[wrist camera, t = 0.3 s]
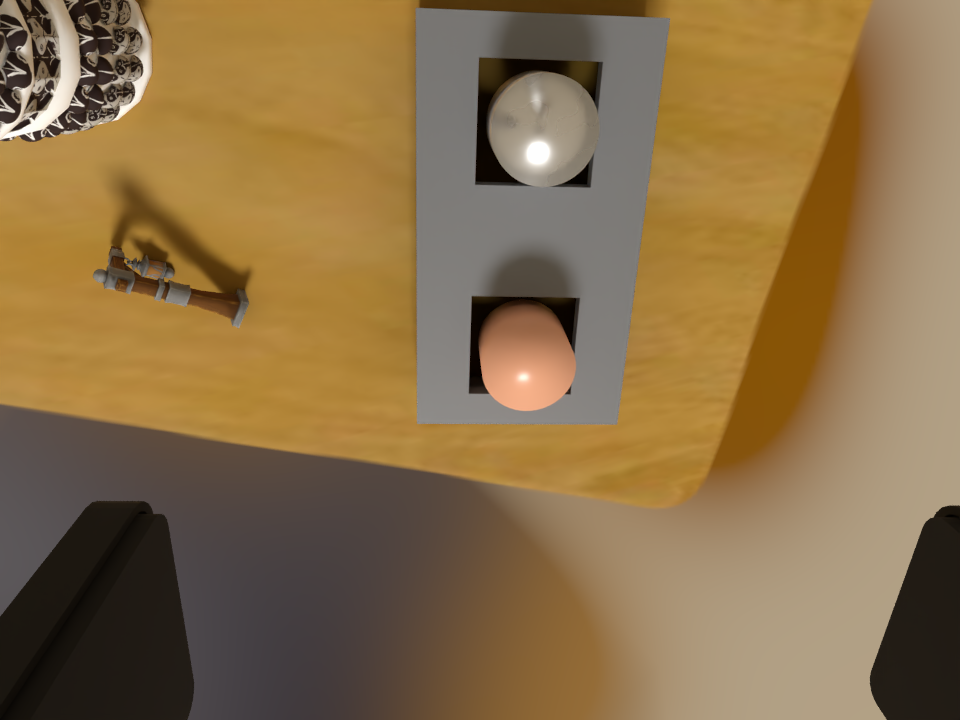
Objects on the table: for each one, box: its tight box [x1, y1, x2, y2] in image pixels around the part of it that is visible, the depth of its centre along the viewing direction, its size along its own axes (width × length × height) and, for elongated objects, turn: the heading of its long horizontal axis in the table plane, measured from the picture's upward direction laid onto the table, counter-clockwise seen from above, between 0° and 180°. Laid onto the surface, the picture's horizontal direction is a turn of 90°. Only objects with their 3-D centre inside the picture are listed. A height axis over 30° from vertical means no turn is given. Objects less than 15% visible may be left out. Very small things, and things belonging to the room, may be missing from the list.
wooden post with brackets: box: [93, 246, 249, 328], centre depth 40 cm, size 2×8×4 cm, turn 62°
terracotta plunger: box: [478, 300, 576, 411], centre depth 39 cm, size 5×5×4 cm
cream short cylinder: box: [486, 70, 600, 187], centre depth 34 cm, size 5×5×4 cm
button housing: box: [416, 8, 670, 424], centre depth 39 cm, size 22×12×4 cm, turn 178°
